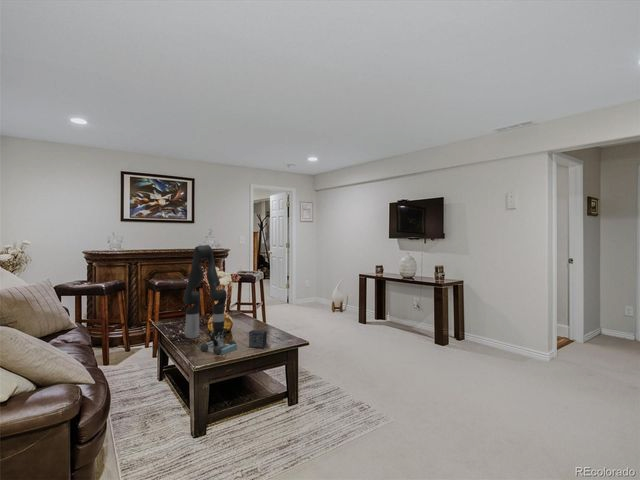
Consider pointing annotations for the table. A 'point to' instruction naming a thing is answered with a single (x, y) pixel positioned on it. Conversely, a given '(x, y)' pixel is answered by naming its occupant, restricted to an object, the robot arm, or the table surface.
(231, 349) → the chassis
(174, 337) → the table surface
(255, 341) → the small box
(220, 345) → the block
